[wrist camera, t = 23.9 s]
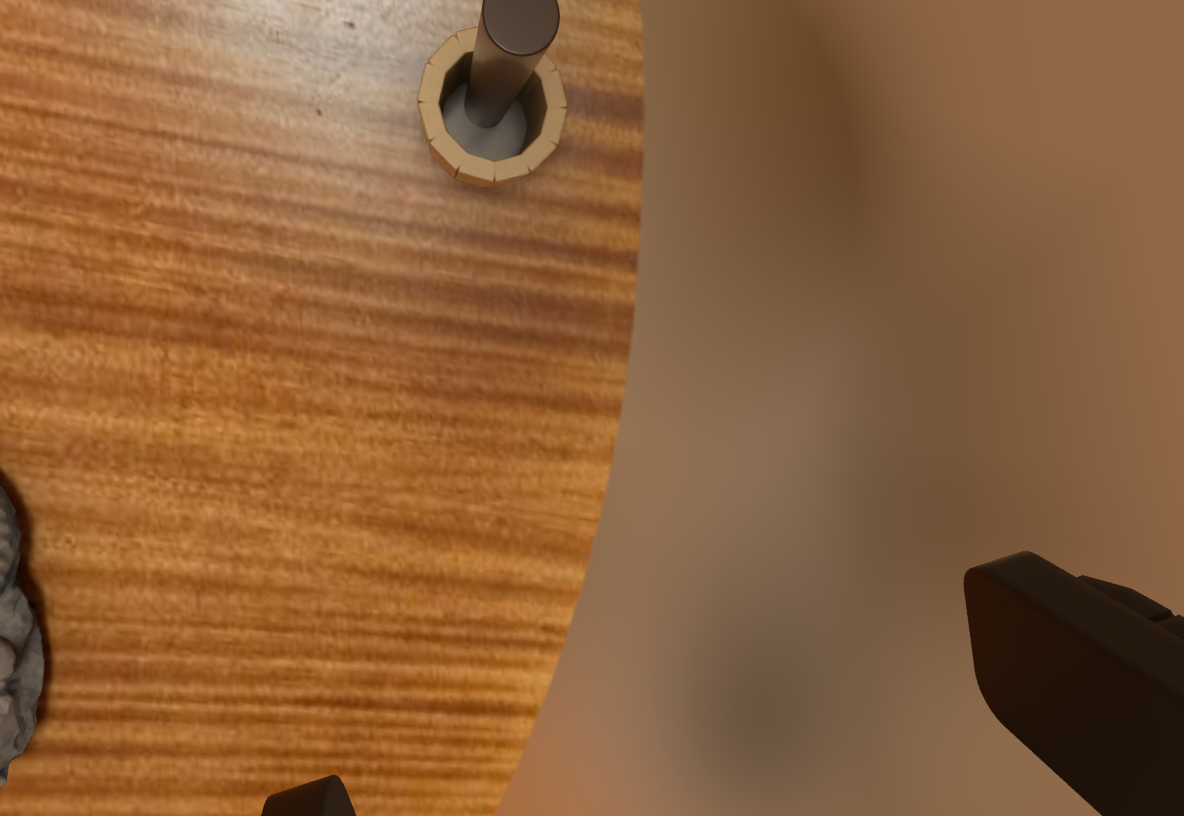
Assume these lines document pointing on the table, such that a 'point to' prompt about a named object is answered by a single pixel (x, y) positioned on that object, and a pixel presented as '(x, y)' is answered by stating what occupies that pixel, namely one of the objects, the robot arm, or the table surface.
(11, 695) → the fossil
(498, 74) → the stand
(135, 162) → the table surface
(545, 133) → the faceted pencil cup
